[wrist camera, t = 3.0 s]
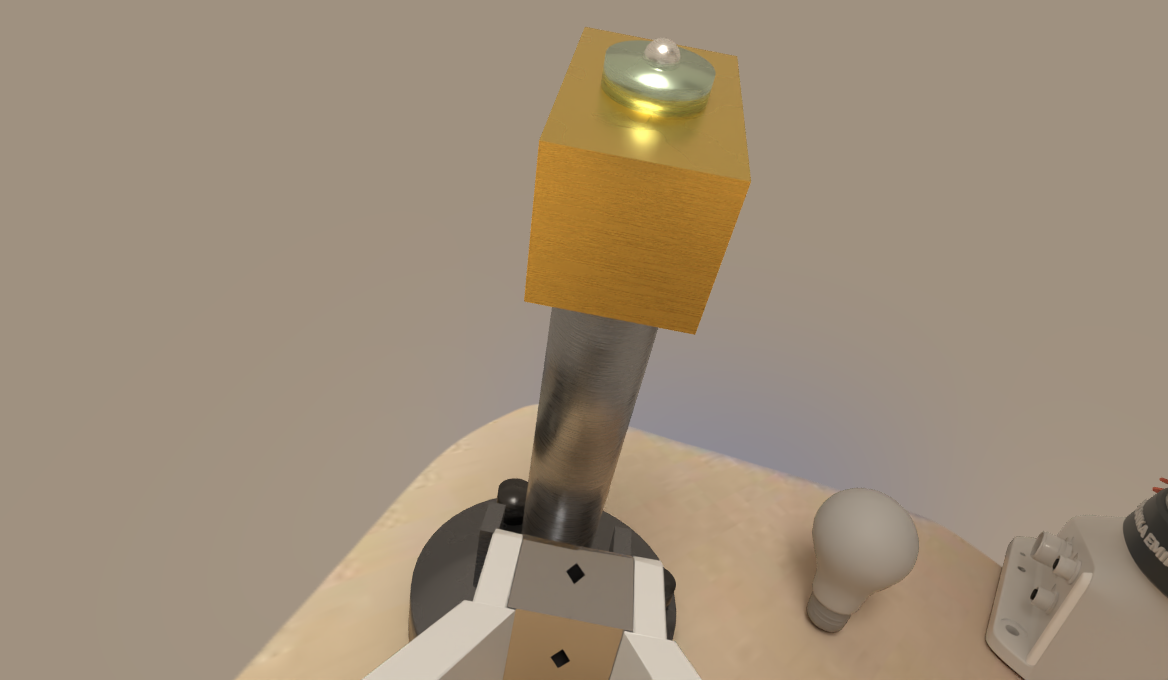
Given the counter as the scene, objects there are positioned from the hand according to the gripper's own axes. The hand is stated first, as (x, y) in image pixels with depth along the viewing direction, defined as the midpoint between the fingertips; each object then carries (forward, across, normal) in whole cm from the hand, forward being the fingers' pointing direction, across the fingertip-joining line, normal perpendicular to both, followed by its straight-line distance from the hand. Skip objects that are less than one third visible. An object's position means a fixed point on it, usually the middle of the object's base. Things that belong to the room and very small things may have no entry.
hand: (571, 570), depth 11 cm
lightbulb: (+24, -19, +25) cm, 39 cm away
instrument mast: (+20, 0, +20) cm, 28 cm away
